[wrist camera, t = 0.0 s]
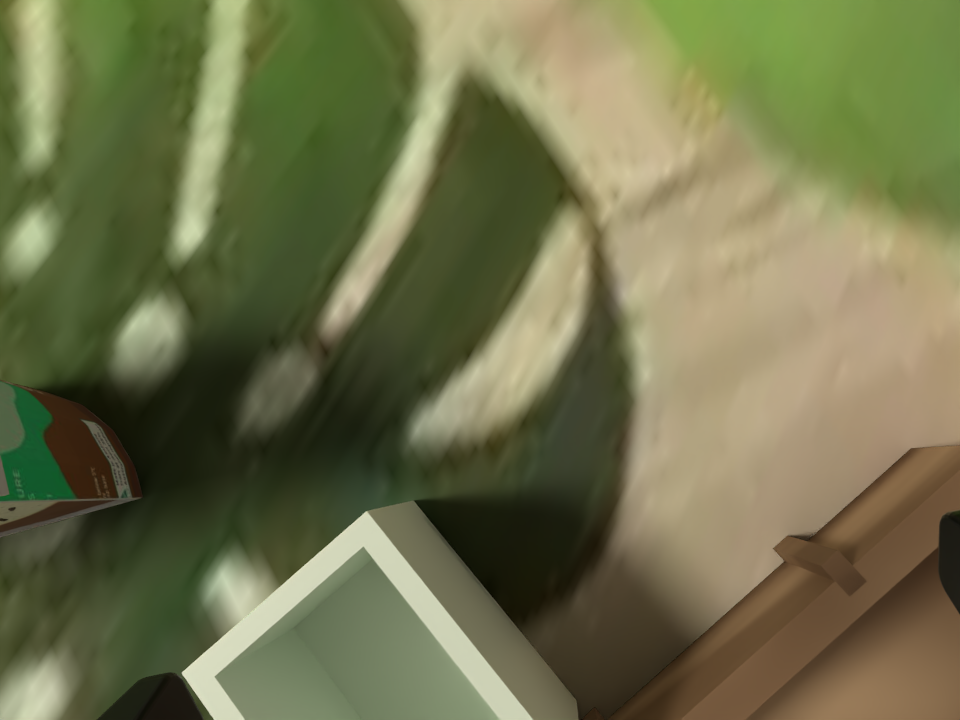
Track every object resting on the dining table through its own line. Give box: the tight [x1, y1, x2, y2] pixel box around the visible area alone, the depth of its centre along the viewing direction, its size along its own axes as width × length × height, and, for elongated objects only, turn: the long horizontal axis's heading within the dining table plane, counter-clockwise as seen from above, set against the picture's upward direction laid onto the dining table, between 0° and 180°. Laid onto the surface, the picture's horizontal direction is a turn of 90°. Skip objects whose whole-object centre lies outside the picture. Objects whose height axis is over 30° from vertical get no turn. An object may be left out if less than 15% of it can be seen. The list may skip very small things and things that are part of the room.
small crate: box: [182, 501, 579, 720], centre depth 20 cm, size 8×6×6 cm
